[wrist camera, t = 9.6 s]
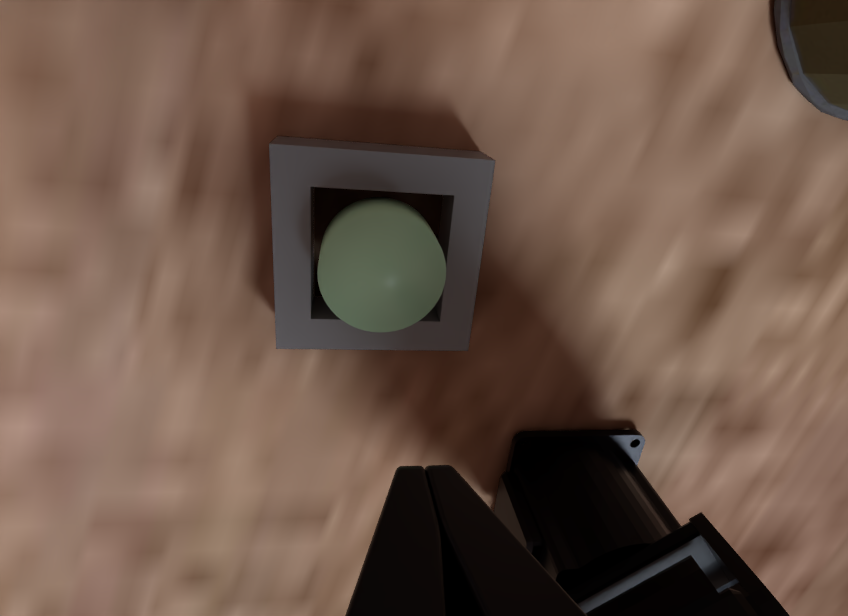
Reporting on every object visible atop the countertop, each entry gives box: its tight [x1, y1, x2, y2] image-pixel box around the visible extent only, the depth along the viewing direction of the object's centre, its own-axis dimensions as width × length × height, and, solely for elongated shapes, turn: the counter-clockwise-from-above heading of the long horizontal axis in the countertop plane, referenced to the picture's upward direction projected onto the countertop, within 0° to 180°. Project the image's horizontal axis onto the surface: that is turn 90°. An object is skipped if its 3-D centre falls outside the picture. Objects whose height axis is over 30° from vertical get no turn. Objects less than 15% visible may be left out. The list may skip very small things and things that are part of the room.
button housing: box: [269, 136, 495, 351], centre depth 18 cm, size 7×7×2 cm
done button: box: [317, 197, 446, 332], centre depth 17 cm, size 4×4×2 cm
